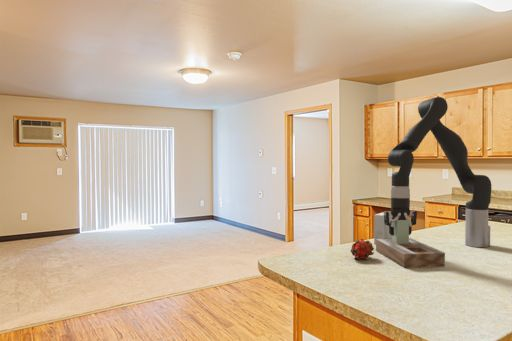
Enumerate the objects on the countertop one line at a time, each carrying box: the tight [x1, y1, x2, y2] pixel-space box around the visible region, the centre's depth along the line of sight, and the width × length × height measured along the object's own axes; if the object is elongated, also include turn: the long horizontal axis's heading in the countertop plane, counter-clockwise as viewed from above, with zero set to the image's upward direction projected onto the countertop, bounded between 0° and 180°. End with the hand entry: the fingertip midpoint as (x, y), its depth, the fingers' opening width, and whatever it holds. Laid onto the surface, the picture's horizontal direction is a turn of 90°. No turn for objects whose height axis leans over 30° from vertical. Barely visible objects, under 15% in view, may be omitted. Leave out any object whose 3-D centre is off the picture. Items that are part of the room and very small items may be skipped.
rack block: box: [375, 237, 446, 269], centre depth 151 cm, size 16×26×5 cm, turn 5°
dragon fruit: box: [350, 238, 375, 260], centre depth 150 cm, size 8×8×12 cm
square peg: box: [392, 220, 410, 244], centre depth 157 cm, size 5×5×14 cm
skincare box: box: [373, 211, 392, 245], centre depth 176 cm, size 8×6×15 cm
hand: (400, 235), depth 157 cm, fingers open, 6 cm apart
